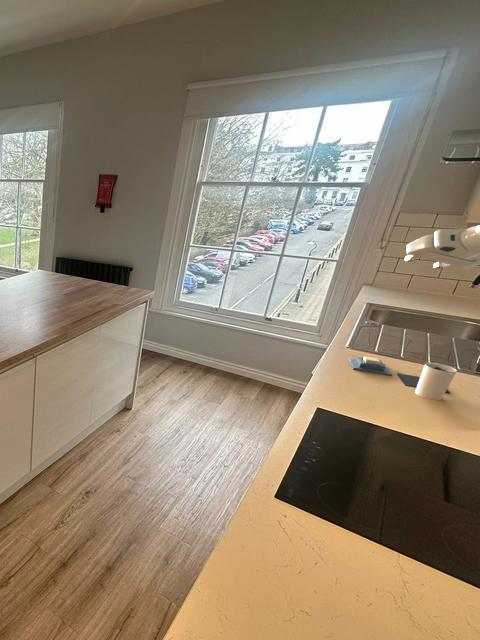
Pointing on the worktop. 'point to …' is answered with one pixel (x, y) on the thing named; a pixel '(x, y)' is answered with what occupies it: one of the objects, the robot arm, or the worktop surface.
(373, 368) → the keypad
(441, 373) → the white mug
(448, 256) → the robot arm
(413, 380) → the coaster
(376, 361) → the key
